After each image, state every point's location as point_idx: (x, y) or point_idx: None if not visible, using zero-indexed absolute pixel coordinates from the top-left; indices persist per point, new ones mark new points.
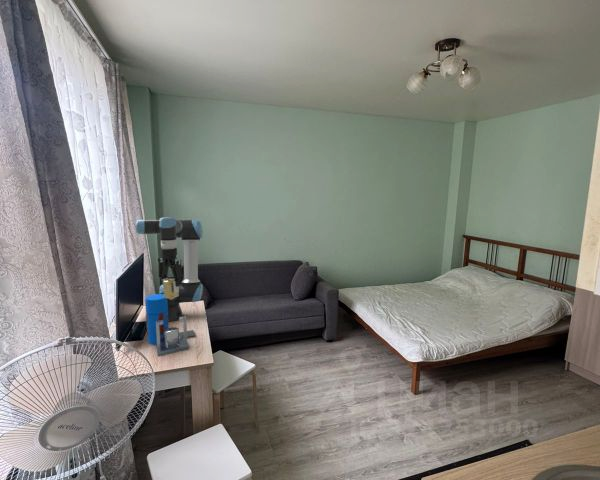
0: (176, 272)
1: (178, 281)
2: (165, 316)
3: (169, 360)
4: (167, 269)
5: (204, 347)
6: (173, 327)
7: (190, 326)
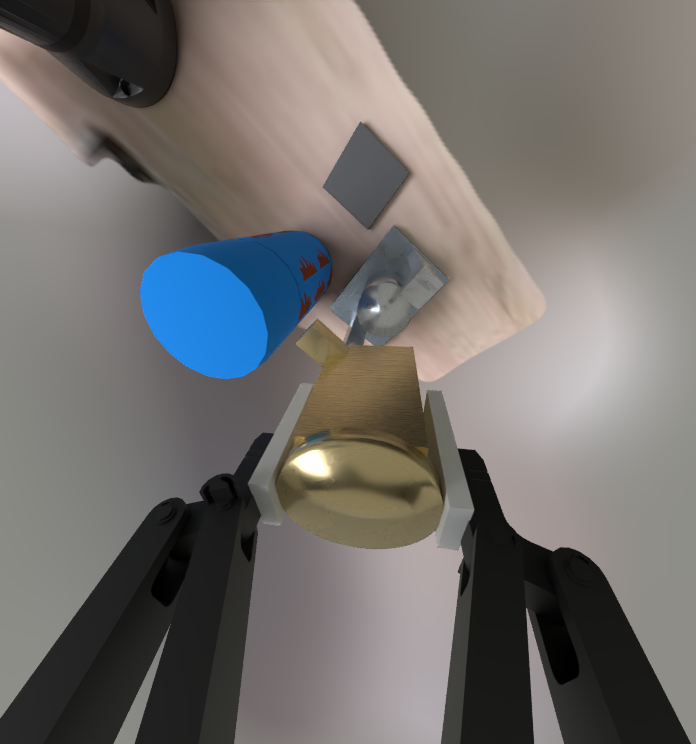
0: (517, 726)
1: (497, 516)
2: (306, 285)
3: (428, 350)
4: (212, 717)
5: (497, 240)
6: (372, 289)
7: (304, 70)
